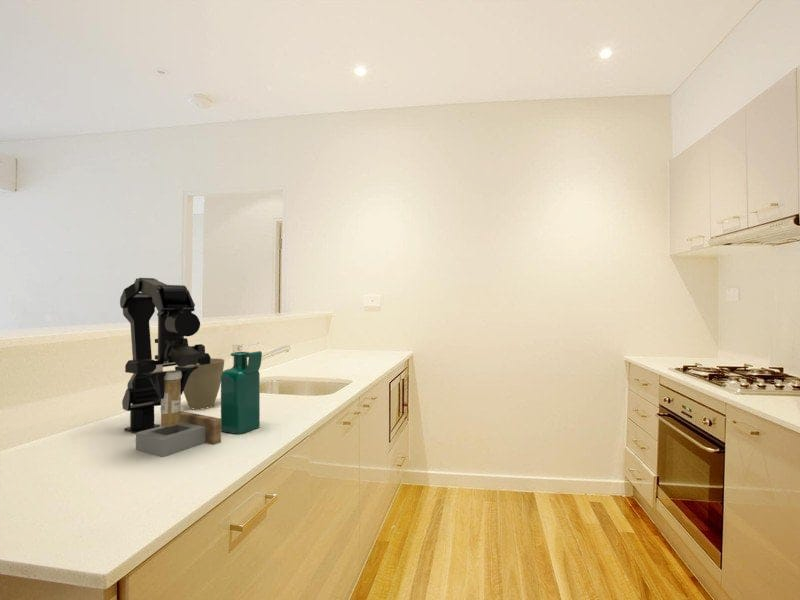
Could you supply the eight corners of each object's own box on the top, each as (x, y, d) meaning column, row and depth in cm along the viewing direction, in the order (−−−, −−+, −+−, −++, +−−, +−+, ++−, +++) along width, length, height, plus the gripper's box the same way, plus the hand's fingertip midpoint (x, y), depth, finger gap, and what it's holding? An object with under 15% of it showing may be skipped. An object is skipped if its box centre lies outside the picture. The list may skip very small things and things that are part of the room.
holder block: (135, 449, 97) (135, 432, 97) (179, 436, 107) (179, 421, 107) (162, 456, 92) (162, 439, 92) (205, 442, 101) (205, 426, 101)
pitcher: (217, 431, 110) (217, 352, 111) (240, 423, 118) (240, 349, 119) (244, 435, 107) (244, 353, 107) (266, 426, 114) (266, 350, 115)
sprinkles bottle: (181, 425, 99) (182, 371, 99) (160, 428, 96) (161, 373, 97) (180, 421, 103) (180, 369, 103) (159, 424, 100) (160, 370, 100)
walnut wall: (170, 434, 108) (170, 412, 109) (178, 432, 110) (178, 410, 110) (213, 444, 100) (213, 420, 100) (220, 442, 102) (220, 418, 102)
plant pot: (194, 401, 146) (194, 358, 147) (232, 402, 145) (232, 358, 145) (166, 412, 132) (166, 364, 132) (209, 413, 130) (209, 364, 130)
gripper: (151, 338, 88) (151, 409, 88) (224, 333, 104) (224, 392, 104) (124, 336, 93) (123, 403, 93) (197, 332, 110) (197, 388, 109)
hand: (170, 396), depth 100 cm, fingers closed on sprinkles bottle, 4 cm apart
